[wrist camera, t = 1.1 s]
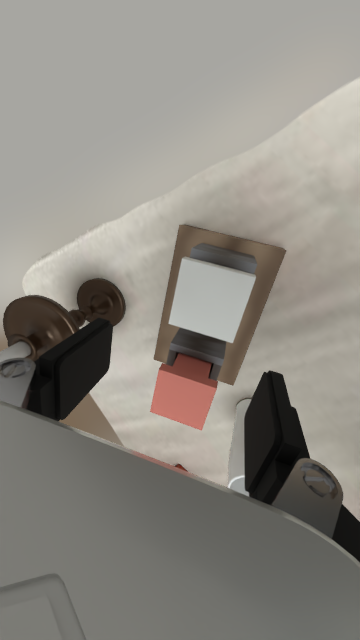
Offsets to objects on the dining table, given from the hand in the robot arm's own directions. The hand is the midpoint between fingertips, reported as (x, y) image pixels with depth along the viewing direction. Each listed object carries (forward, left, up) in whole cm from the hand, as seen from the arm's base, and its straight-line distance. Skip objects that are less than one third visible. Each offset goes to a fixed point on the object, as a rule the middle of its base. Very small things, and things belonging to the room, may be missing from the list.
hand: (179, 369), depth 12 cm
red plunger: (0, +12, -19) cm, 22 cm away
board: (0, +6, -26) cm, 27 cm away
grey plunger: (0, 0, -19) cm, 19 cm away
